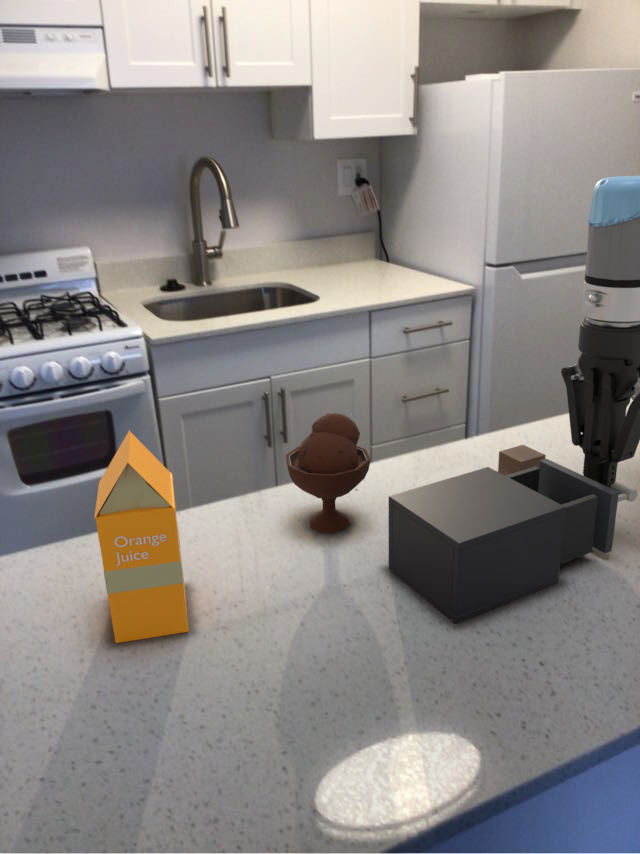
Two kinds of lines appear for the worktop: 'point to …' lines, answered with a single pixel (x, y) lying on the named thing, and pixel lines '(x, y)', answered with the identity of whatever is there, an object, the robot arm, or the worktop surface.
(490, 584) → the dark grey cuboid
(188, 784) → the worktop surface
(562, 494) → the dark grey drawer
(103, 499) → the orange juice
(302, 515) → the worktop surface
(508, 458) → the block
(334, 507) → the ice cream bowl
